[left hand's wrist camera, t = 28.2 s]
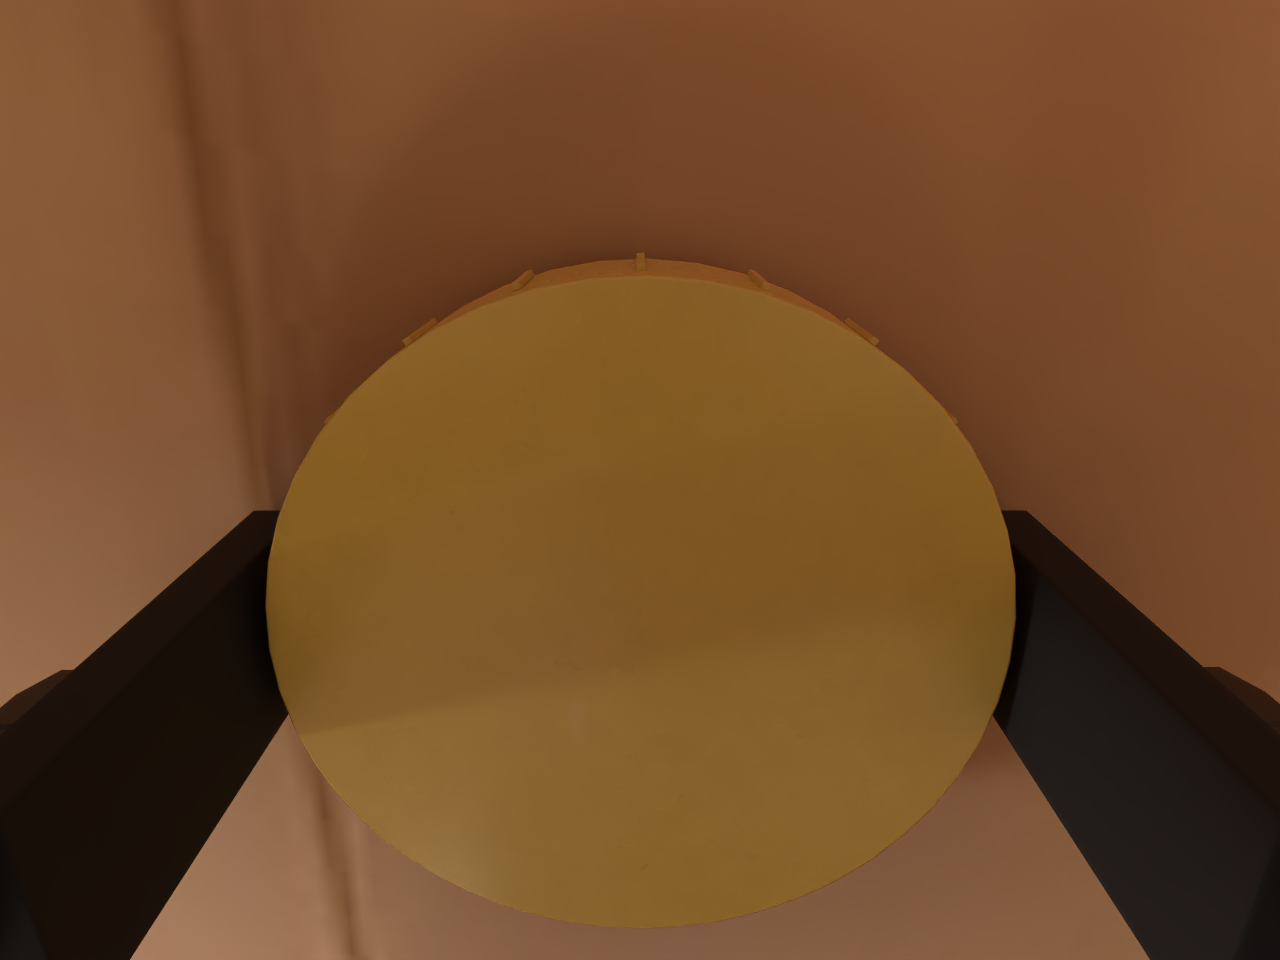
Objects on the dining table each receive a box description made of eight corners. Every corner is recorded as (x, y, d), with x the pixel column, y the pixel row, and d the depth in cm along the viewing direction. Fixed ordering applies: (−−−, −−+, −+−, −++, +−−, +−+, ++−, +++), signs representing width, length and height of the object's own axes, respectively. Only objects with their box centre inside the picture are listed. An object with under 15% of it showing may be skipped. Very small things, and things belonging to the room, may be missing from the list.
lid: (874, 869, 15) (906, 964, 13) (312, 803, 15) (265, 894, 13) (1059, 316, 11) (1138, 344, 10) (315, 200, 11) (251, 207, 9)
